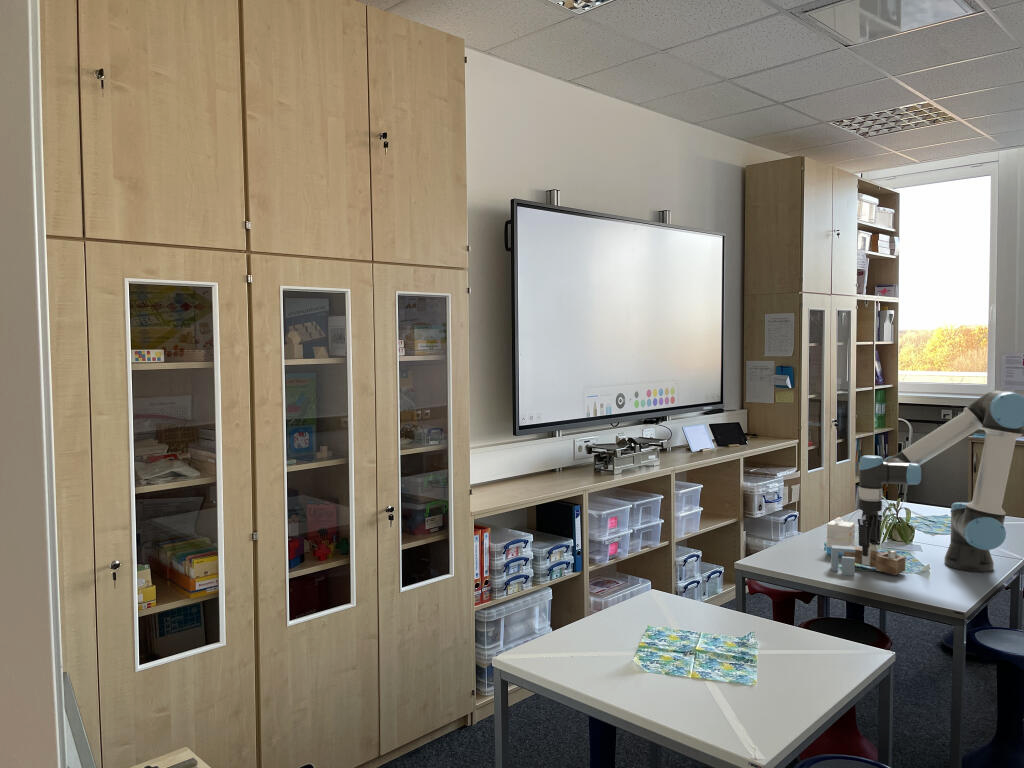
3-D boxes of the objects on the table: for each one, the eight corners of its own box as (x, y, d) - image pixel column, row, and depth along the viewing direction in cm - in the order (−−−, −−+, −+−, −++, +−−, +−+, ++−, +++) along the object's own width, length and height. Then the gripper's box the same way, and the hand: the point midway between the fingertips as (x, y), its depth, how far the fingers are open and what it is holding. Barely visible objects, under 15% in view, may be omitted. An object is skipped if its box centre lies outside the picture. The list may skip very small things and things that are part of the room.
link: (905, 570, 259) (905, 556, 259) (895, 574, 255) (896, 560, 254) (850, 557, 274) (851, 544, 274) (841, 560, 270) (841, 547, 270)
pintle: (896, 573, 260) (897, 551, 259) (895, 575, 257) (896, 553, 257) (888, 572, 261) (888, 549, 261) (886, 574, 259) (887, 551, 258)
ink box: (849, 557, 280) (850, 522, 279) (826, 553, 285) (826, 519, 285) (854, 552, 287) (855, 518, 286) (832, 548, 292) (832, 515, 291)
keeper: (853, 569, 265) (854, 546, 265) (856, 575, 258) (856, 552, 257) (831, 567, 267) (831, 545, 267) (832, 573, 260) (833, 550, 260)
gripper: (871, 494, 272) (870, 557, 274) (848, 500, 262) (847, 565, 263) (892, 497, 266) (890, 561, 268) (869, 503, 256) (868, 570, 257)
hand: (869, 563), depth 265 cm, fingers closed on link, 4 cm apart
